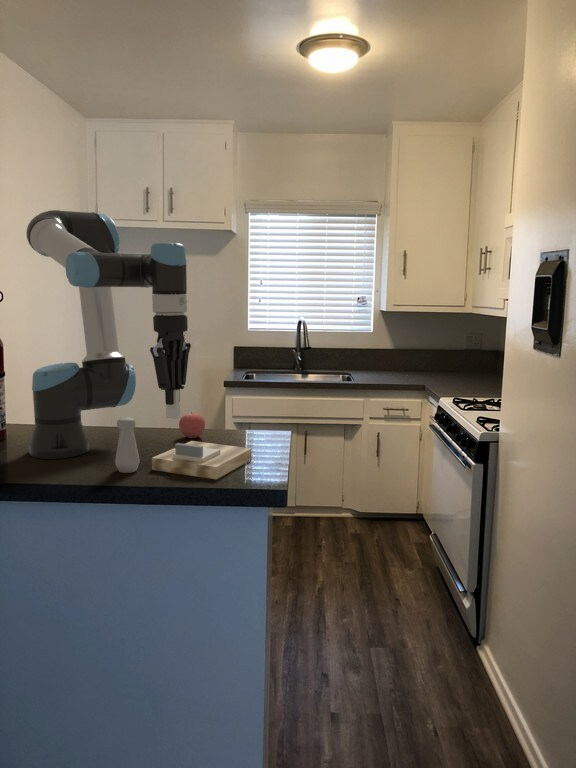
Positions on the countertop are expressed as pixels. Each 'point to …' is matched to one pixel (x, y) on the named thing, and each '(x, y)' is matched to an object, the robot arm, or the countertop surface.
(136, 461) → the salt shaker
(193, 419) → the apple
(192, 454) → the shutter
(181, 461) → the socket board
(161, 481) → the countertop surface
